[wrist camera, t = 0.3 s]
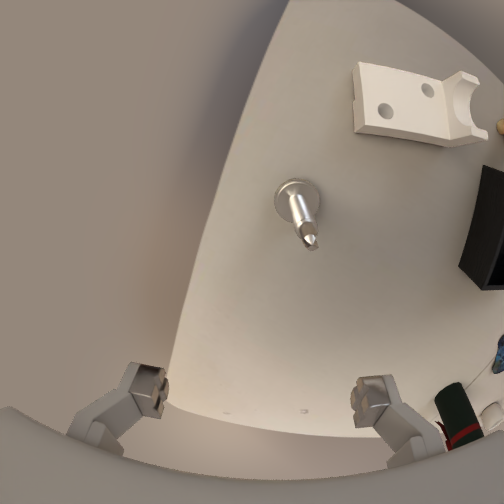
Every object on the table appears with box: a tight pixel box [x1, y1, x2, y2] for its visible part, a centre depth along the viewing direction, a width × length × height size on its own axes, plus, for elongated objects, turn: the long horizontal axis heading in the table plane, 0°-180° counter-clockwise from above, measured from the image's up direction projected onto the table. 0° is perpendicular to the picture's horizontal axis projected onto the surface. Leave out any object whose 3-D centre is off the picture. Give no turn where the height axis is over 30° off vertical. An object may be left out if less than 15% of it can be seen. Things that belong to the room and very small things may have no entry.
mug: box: [482, 403, 504, 431], centre depth 52 cm, size 12×8×8 cm
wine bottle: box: [434, 382, 484, 451], centre depth 35 cm, size 8×10×30 cm
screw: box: [274, 179, 320, 251], centre depth 25 cm, size 13×5×5 cm
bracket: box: [352, 62, 488, 148], centre depth 22 cm, size 13×7×8 cm, turn 91°
